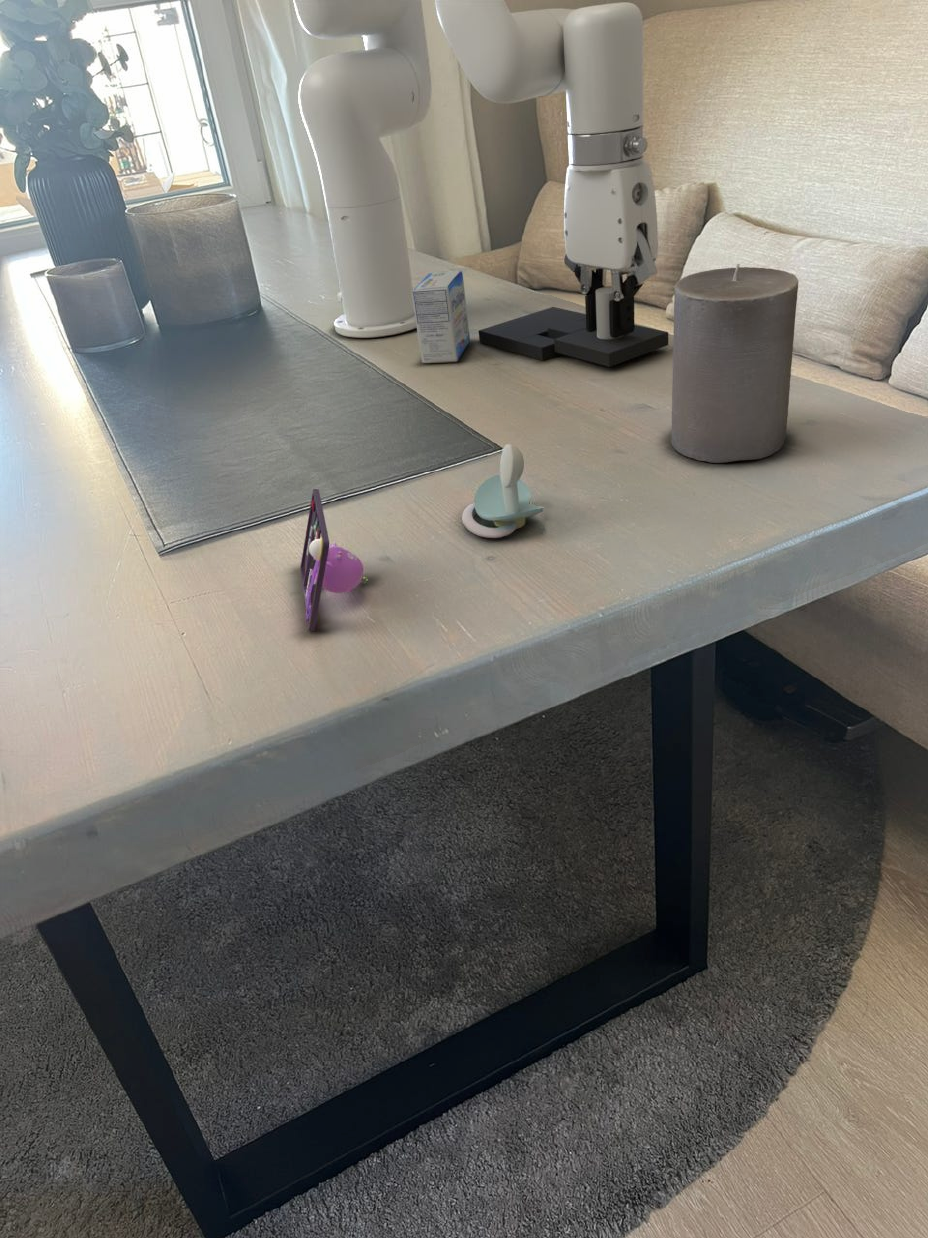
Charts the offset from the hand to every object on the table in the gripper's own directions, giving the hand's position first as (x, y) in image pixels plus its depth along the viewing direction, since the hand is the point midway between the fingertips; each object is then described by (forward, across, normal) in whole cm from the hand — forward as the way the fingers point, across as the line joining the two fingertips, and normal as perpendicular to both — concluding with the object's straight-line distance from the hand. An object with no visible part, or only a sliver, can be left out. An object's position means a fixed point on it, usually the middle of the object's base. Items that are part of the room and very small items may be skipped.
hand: (610, 330), depth 105 cm
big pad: (+3, +11, 0) cm, 11 cm away
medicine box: (+3, +17, +11) cm, 20 cm away
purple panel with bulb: (+3, -23, +49) cm, 54 cm away
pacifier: (+3, -23, +34) cm, 41 cm away
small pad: (+2, +2, 0) cm, 3 cm away
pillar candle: (+3, -26, +11) cm, 29 cm away
